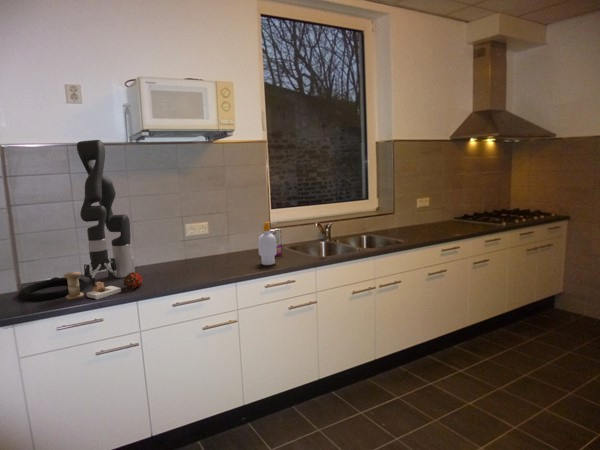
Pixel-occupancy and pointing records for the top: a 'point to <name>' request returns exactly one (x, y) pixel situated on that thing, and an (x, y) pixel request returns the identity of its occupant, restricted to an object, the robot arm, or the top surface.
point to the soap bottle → (267, 246)
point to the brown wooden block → (99, 287)
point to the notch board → (108, 291)
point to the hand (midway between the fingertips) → (102, 282)
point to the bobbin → (73, 285)
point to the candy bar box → (277, 240)
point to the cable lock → (55, 281)
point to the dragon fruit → (133, 280)
